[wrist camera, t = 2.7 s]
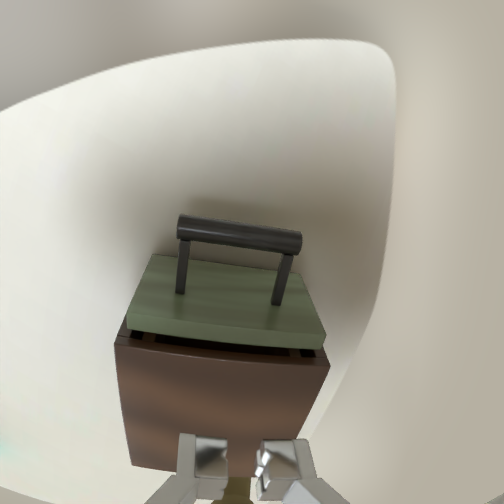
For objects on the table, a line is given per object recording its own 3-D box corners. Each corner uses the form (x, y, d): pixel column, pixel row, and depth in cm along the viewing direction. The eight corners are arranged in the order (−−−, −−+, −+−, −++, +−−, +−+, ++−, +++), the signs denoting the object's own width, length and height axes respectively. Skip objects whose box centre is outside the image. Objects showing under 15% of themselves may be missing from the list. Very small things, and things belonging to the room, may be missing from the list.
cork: (197, 444, 35) (195, 519, 25) (241, 434, 35) (248, 513, 25) (218, 464, 38) (220, 532, 28) (259, 455, 37) (268, 525, 27)
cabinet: (146, 267, 25) (113, 343, 16) (299, 287, 27) (331, 366, 18) (146, 390, 31) (131, 465, 22) (264, 402, 32) (274, 477, 24)
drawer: (158, 189, 22) (127, 226, 15) (315, 214, 24) (353, 258, 16) (150, 379, 29) (137, 443, 22) (264, 391, 31) (274, 455, 23)
